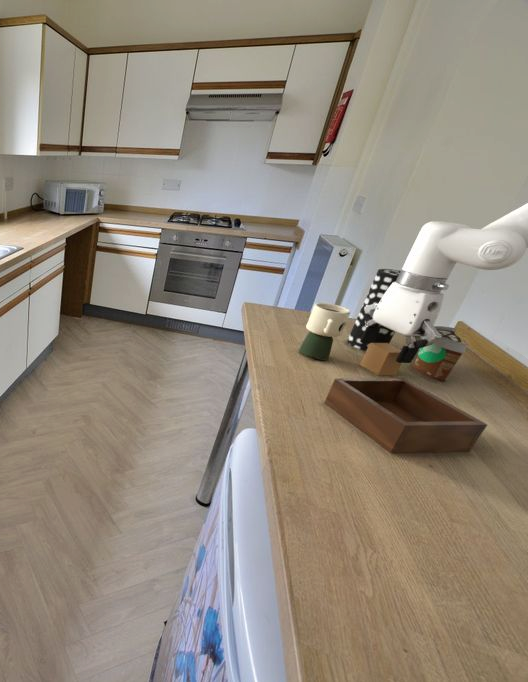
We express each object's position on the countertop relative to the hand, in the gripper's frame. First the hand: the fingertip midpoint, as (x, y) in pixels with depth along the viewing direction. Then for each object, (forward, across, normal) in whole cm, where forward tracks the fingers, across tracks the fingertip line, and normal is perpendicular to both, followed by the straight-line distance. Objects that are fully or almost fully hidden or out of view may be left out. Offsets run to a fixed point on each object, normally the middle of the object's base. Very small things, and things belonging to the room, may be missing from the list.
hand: (383, 352), depth 95 cm
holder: (+5, -21, +17) cm, 28 cm away
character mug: (+5, +7, +11) cm, 14 cm away
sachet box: (+5, 0, 0) cm, 5 cm away
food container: (+5, 0, -12) cm, 13 cm away
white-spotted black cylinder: (+5, +13, -9) cm, 16 cm away
